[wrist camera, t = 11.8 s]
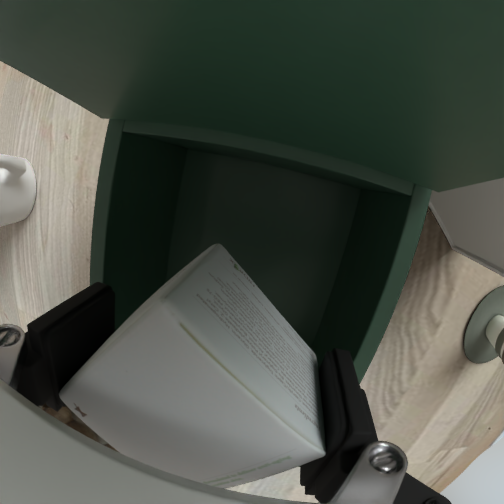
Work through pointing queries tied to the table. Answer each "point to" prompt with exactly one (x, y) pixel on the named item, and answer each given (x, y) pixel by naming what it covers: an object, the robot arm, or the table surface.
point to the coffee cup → (486, 329)
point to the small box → (205, 381)
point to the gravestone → (474, 221)
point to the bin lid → (287, 73)
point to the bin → (257, 227)
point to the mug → (16, 189)
